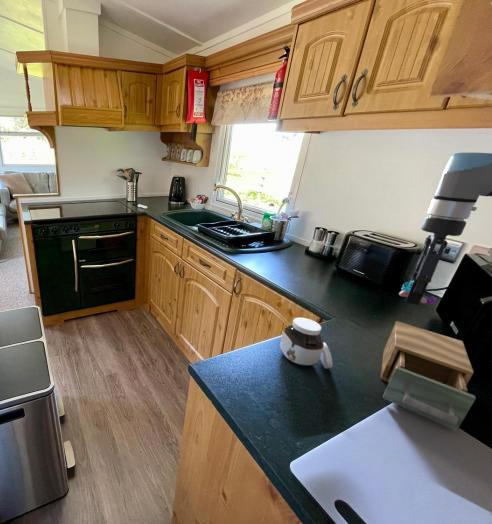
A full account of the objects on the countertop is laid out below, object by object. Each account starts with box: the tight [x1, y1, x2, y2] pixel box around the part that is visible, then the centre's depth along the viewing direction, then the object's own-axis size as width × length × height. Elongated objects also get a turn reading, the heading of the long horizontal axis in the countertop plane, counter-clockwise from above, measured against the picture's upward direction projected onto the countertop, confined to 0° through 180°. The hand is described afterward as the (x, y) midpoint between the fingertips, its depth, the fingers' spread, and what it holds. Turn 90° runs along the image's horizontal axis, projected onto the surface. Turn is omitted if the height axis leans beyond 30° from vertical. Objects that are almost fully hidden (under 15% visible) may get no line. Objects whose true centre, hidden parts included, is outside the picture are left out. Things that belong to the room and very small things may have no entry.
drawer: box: [382, 350, 476, 432], centre depth 67 cm, size 22×13×9 cm, turn 139°
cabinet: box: [380, 320, 474, 386], centre depth 77 cm, size 17×14×11 cm
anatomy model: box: [398, 279, 437, 305], centre depth 80 cm, size 5×8×7 cm
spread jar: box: [279, 317, 334, 370], centre depth 80 cm, size 12×11×12 cm
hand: (411, 298), depth 81 cm, fingers closed on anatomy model, 8 cm apart
